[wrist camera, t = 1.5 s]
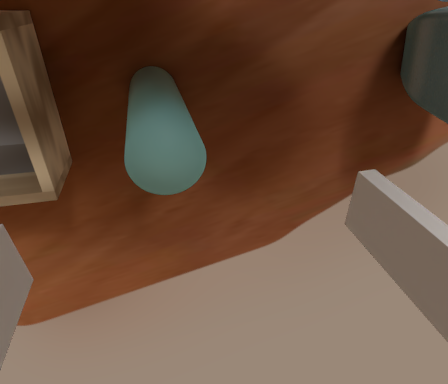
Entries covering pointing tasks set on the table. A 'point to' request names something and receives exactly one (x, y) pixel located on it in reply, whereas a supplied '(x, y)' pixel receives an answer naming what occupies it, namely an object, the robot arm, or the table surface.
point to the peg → (161, 135)
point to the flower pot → (427, 62)
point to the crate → (28, 118)
